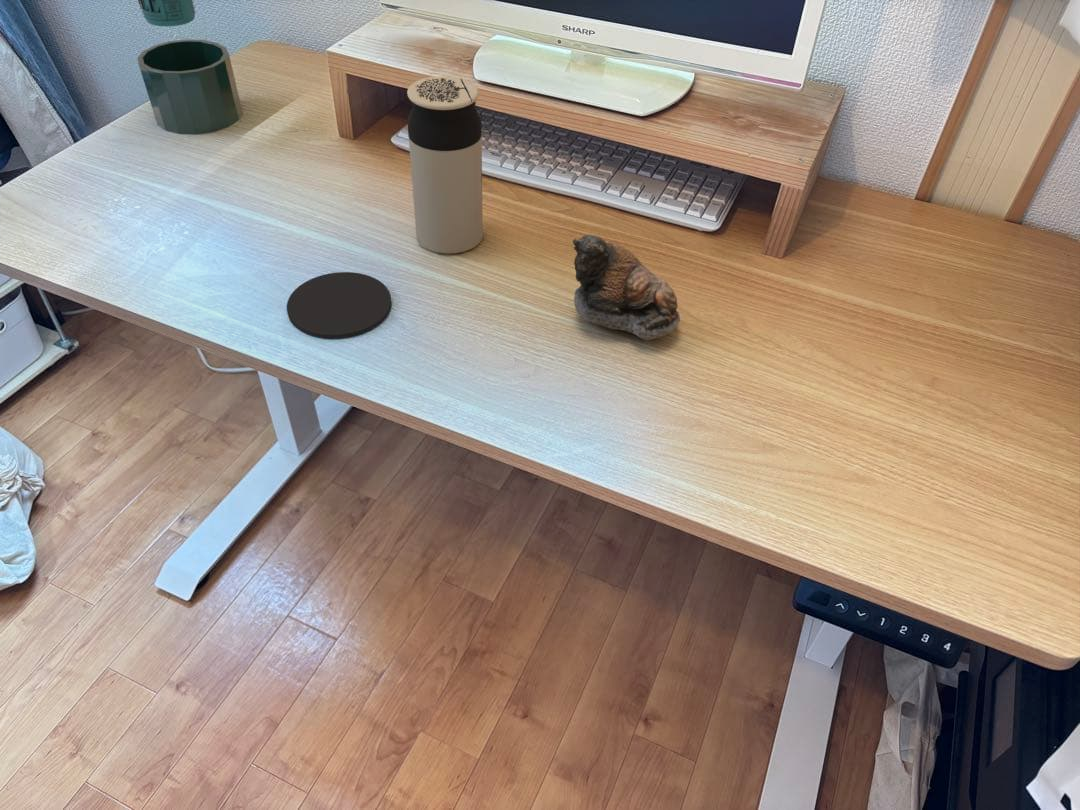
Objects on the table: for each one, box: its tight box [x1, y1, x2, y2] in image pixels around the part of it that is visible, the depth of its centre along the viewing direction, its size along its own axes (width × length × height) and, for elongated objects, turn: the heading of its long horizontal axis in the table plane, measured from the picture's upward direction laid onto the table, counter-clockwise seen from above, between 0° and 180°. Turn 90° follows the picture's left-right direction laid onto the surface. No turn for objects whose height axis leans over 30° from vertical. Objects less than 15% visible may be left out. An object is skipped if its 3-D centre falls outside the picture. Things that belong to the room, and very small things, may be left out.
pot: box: [136, 38, 243, 135], centre depth 109 cm, size 11×11×10 cm
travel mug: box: [406, 75, 484, 254], centre depth 89 cm, size 8×8×18 cm
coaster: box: [286, 271, 393, 340], centre depth 85 cm, size 11×11×1 cm
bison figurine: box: [572, 234, 681, 341], centre depth 81 cm, size 12×7×10 cm, turn 75°
